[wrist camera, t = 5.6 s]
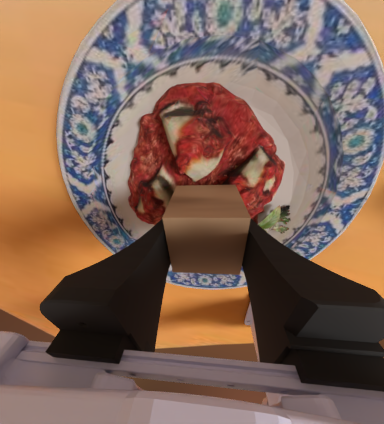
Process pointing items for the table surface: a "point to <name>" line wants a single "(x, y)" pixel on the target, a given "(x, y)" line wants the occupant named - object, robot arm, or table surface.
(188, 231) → the walnut block
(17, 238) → the table surface
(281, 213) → the ceramic plate
